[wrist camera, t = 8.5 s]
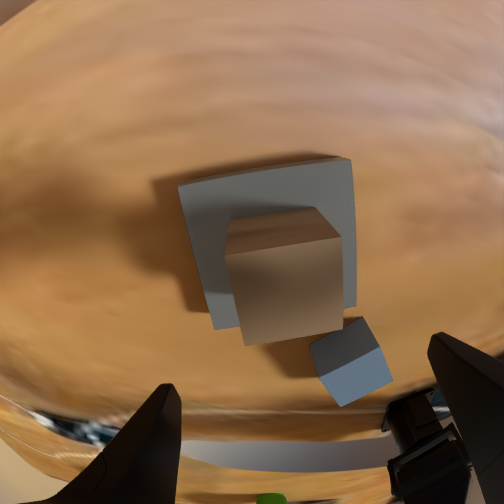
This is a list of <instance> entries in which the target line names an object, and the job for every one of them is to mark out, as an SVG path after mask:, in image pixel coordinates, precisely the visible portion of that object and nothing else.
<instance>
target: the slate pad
mask: <svg viewBox="0 0 504 504" xmlns="http://www.w3.org/2000/svg"><path fill="white" fill-rule="evenodd" d="M177 188H178V192H179V197H180V201H181V205H182V210H183V214H184V218H185V222H186V226H187V230H188V234H189V238H190V242H191V246H192V250H193V254H194V258H195V262H196V266H197V269H198V273H199V277H200V280H201V284H202V288H203V291H204V295H205V298H206V302H207V305H208V309H209V312H210V316H211V319H212V323H213V326H214V329H215V330H218V329H226V328H233V327H240V323H239V318H238V314H237V310H236V305H235V301H234V297H233V292H232V288H231V283H230V279H229V275H228V270H227V266H226V261H225V256H224V254H225V247H226V240H227V233H228V226H229V220H234V219H240V218H246V217H252V216H258V215H265V214H271V213H277V212H284V211H290V210H297V209H304V208H310V207H316V208H317V210H318V211H319V212H320V213H321V214H322V215H323V216H324V217H325V218H326V220H327V221H328V222H329V223H330V224H331V225H332V226H333V227H334V228H335V230H336V231H337V232H338V233H339V234H340V235H341V236H342V255H343V309H345V308H350V307H355V306H356V287H357V256H356V221H355V202H354V187H353V175H352V163H351V160H350V159H347V158H343V157H331V158H322V159H313V160H305V161H297V162H290V163H283V164H276V165H269V166H262V167H256V168H250V169H244V170H238V171H232V172H227V173H221V174H216V175H211V176H205V177H200V178H196V179H191V180H186V181H183V182H182V183H181V184H180V185H179V186H178V187H177Z"/></svg>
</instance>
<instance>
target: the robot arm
mask: <svg viewBox="0 0 504 504" xmlns="http://www.w3.org/2000/svg"><path fill="white" fill-rule="evenodd" d="M427 355H428V359H429V361H430V364H431V367H432V369H433V372H434V375H435V377H436V380H437V383H438V386H439V388H440V391H441V393H442V395H443V397H444V399H445V401H446V403H447V406H448V408H449V410H450V412H451V414H452V416H453V419H454V421H455V423H456V425H457V428H458V430H459V432H460V435H461V437H462V439H463V440H462V439H461V437H460V435H459V433H458V431H457V430H456V428H455V426H454V424H453V423H450V424H449V425H448V426H447V427H446V428H444V429H443V428H442V426H441V424H440V422H439V420H438V418H437V415H436V414H435V412H434V410H433V408H432V406H431V404H430V403H431V401H432V399H433V396H434V394H435V390H434V388H432V389H430V390H427V391H424V392H422V393H419V394H416V395H414V396H411V397H408V398H405V399H402V400H399V401H396V402H393V403H391V404H389V405H388V408H387V411H386V415H385V418H384V421H383V424H382V427H381V431H382V432H386V431H389V430H391V432H392V434H393V437H394V439H395V442H396V444H397V447H398V449H399V452H400V455H399V456H397V457H395V458H393V459H390V460H388V465H387V469H388V472H389V475H390V483H391V494H392V495H393V496H396V497H397V498H398V500H399V501H400V502H401V503H403V502H404V504H468V500H469V495H470V491H471V487H472V482H473V480H472V476H471V473H470V470H469V468H468V466H469V465H471V464H472V465H473V467H474V470H475V473H476V475H477V479H478V481H479V484H480V487H481V490H482V494H483V497H484V499H485V503H486V504H504V362H502V361H500V360H498V359H496V358H494V357H492V356H490V355H488V354H486V353H484V352H482V351H480V350H478V349H476V348H474V347H472V346H470V345H468V344H466V343H464V342H462V341H460V340H458V339H456V338H454V337H452V336H450V335H448V334H446V333H444V332H439V333H436V334H433V335H432V337H431V340H430V343H429V347H428V351H427ZM181 405H182V404H181V399H180V396H179V394H178V393H177V391H176V389H175V387H174V385H173V384H171V383H164V384H160V385H159V386H158V387H157V388H156V390H155V391H154V392H153V393H152V394H151V395H150V396H149V398H148V399H147V400H146V401H145V402H144V403H143V405H142V406H141V407H140V408H139V409H138V410H137V411H136V413H135V414H134V415H133V416H132V417H131V418H130V419H129V421H128V422H127V423H126V424H125V425H124V426H123V427H122V429H121V430H120V431H119V432H118V433H117V434H116V435H115V437H114V438H113V439H112V440H111V441H110V442H109V443H108V444H107V446H106V447H105V448H104V449H103V450H102V451H103V452H100V453H99V455H98V456H97V457H96V458H95V459H94V460H93V461H92V462H91V463H90V464H89V465H88V466H87V467H86V468H85V469H84V470H83V471H82V472H81V473H80V474H79V475H78V476H77V477H76V478H74V479H73V480H72V481H71V482H70V483H69V484H68V485H66V486H65V487H64V488H63V489H62V490H60V491H59V492H58V493H57V494H56V495H54V496H52V497H50V498H48V499H46V500H41V501H34V502H28V503H19V504H175V495H176V485H177V475H178V466H179V457H180V449H181ZM454 438H455V440H452V439H454Z"/></svg>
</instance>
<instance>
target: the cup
mask: <svg viewBox="0 0 504 504" xmlns="http://www.w3.org/2000/svg"><path fill="white" fill-rule="evenodd" d="M256 504H287V500H286V497H284V495H283V494H277V493H273V494H265V495H261V496H259V497H258V499H257V502H256Z"/></svg>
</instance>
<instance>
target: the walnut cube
mask: <svg viewBox="0 0 504 504" xmlns="http://www.w3.org/2000/svg"><path fill="white" fill-rule="evenodd" d="M224 256H225V261H226V266H227V270H228V275H229V279H230V283H231V288H232V292H233V297H234V301H235V305H236V310H237V314H238V318H239V323H240V327H241V331H242V335H243V339H244V344H245V346H249V345H256V344H263V343H270V342H276V341H282V340H288V339H294V338H300V337H305V336H311V335H316V334H321V333H326V332H331V331H336V330H341V329H343V255H342V236H341V235H340V234H339V233H338V232H337V231H336V230H335V228H334V227H333V226H332V225H331V224H330V223H329V222H328V221H327V220H326V218H325V217H324V216H323V215H322V214H321V213H320V212H319V211H318V210H317V208H316V207H310V208H304V209H297V210H290V211H284V212H277V213H271V214H265V215H258V216H252V217H246V218H240V219H234V220H229V226H228V233H227V240H226V247H225V254H224Z"/></svg>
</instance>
